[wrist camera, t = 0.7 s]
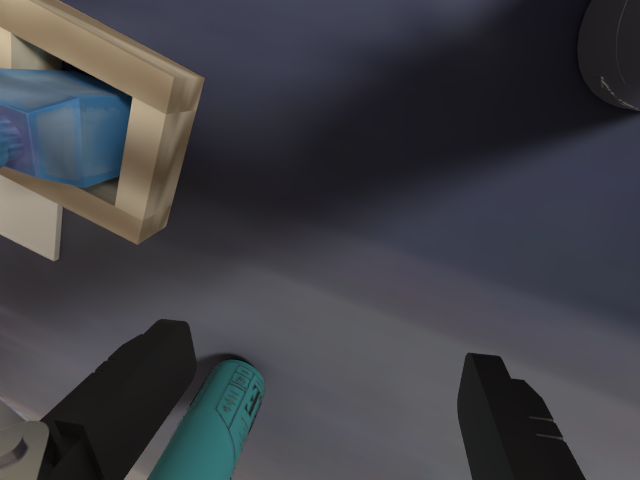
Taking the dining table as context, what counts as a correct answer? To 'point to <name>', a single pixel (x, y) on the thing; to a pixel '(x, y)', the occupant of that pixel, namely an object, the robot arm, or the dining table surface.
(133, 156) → the pocket block
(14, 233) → the coaster
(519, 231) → the dining table surface
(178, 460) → the beverage bottle
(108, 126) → the perfume bottle
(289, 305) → the dining table surface
